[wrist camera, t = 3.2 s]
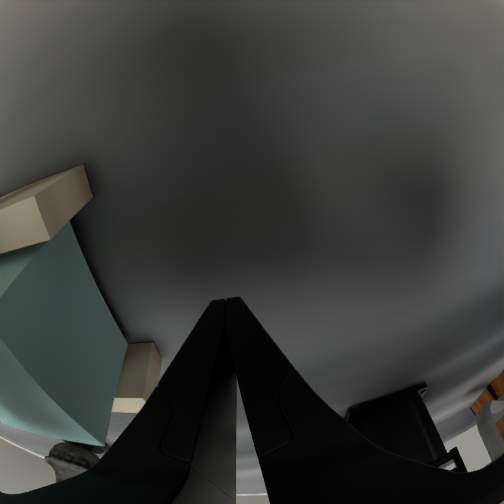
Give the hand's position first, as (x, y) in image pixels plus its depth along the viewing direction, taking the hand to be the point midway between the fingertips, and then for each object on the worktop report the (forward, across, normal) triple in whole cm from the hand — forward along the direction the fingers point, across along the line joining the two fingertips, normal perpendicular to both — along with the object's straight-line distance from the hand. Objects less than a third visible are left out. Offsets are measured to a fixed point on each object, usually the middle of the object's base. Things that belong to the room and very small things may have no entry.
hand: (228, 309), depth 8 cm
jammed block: (+2, +8, 0) cm, 8 cm away
